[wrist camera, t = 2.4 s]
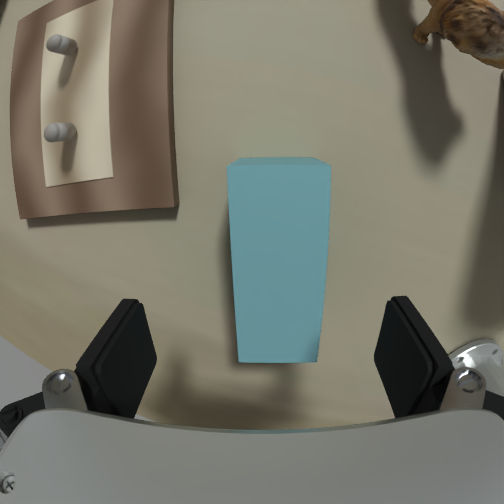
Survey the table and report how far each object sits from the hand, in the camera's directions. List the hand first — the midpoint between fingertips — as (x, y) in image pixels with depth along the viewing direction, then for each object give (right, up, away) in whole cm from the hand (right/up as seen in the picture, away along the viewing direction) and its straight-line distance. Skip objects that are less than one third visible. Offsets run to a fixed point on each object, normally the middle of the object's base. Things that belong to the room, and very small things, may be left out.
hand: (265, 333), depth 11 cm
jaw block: (+1, +4, +11) cm, 11 cm away
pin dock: (-14, +16, +7) cm, 22 cm away
